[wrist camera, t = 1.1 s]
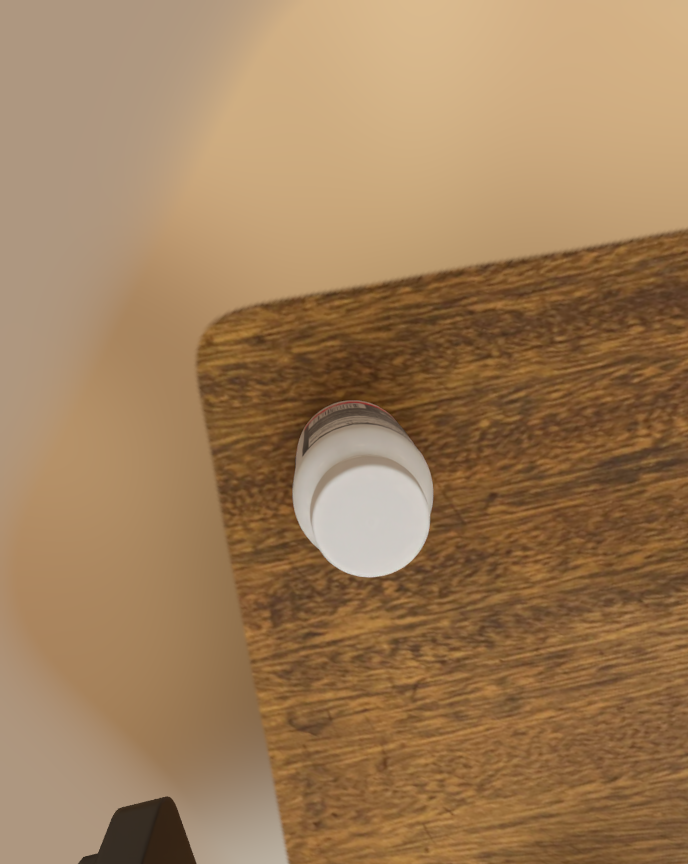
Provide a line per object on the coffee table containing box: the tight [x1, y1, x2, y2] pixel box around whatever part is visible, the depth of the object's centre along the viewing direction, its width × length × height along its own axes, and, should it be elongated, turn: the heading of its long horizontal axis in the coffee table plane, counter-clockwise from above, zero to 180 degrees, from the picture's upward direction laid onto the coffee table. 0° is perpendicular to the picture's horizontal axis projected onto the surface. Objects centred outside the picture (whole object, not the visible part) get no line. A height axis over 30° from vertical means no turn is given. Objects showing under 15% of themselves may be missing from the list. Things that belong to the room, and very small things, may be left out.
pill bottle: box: [293, 400, 433, 577], centre depth 25 cm, size 5×5×10 cm
